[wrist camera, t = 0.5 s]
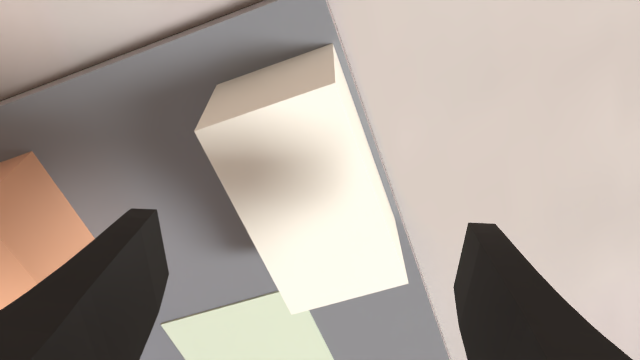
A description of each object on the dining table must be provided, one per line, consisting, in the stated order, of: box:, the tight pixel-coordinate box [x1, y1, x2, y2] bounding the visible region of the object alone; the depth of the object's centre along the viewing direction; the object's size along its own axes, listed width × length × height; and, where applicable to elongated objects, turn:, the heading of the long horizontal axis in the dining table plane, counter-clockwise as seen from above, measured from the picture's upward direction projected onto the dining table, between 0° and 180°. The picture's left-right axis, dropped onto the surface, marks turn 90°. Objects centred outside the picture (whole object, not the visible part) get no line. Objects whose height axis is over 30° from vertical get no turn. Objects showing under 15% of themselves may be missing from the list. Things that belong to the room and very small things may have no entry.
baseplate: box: [0, 0, 451, 360], centre depth 25 cm, size 18×24×1 cm
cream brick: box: [194, 43, 409, 315], centre depth 19 cm, size 4×8×4 cm, turn 20°
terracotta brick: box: [0, 151, 95, 310], centre depth 21 cm, size 4×8×4 cm, turn 20°
